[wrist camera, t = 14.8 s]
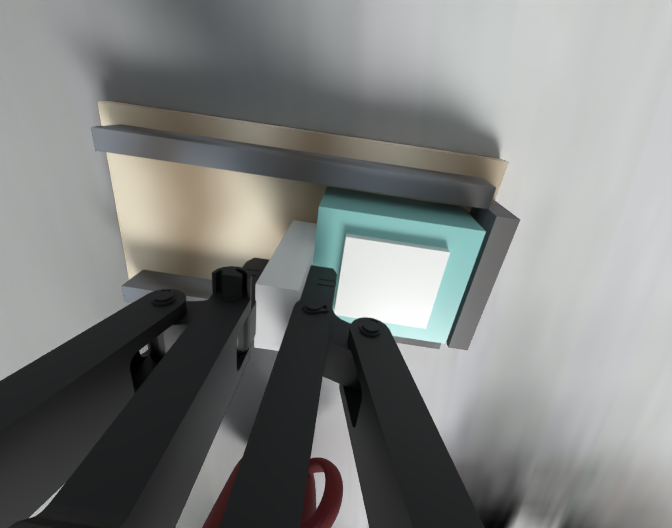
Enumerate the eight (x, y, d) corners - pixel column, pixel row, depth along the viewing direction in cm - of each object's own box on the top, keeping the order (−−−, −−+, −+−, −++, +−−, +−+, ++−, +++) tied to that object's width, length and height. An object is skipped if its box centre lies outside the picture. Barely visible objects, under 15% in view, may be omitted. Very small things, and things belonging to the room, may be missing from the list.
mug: (298, 385, 25) (262, 546, 16) (370, 440, 27) (374, 609, 18) (216, 442, 28) (150, 598, 19) (285, 486, 31) (253, 645, 22)
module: (315, 286, 20) (304, 327, 16) (327, 186, 17) (317, 209, 13) (431, 303, 19) (447, 349, 16) (462, 206, 17) (489, 234, 13)
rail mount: (141, 285, 22) (97, 321, 18) (111, 101, 17) (43, 100, 13) (441, 331, 22) (456, 376, 18) (500, 158, 17) (538, 174, 13)
